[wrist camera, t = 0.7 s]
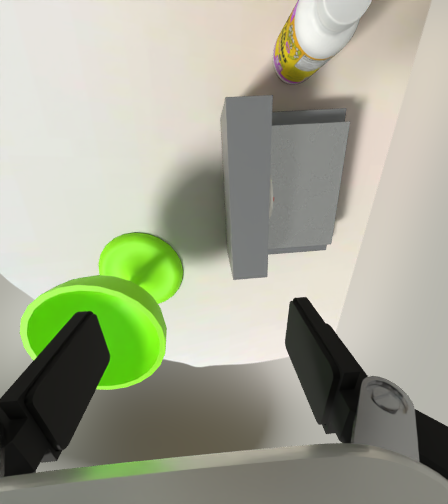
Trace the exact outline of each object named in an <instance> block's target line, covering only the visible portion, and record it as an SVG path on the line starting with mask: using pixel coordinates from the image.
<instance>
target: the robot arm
mask: <svg viewBox="0 0 448 504" xmlns="http://www.w3.org/2000/svg"><path fill="white" fill-rule="evenodd" d="M285 345H286V349H287V352H288V354H289V356H290V359H291V361H292V364H293V366H294V368H295V371H296V373H297V375H298V378H299V380H300V383H301V385H302V388H303V390H304V392H305V395H306V397H307V400H308V402H309V404H310V407H311V409H312V412H313V414H314V416H315V419H316V421H317V423H318V424H322V425H323V428H324V430H325V433H326V434H331V433H336V435H337V437H338V439H339V440H340V441H341V442H342V443H340V444H338V443H336V444H315V445H302V446H289V447H277V448H267V449H257V450H246V451H237V452H225V453H216V454H205V455H195V456H186V457H176V458H166V459H156V460H148V461H137V462H128V463H118V464H109V465H99V466H91V467H81V468H72V469H62V470H54V471H46V472H38V473H36V469H37V467H38V465H39V464H40V462H51V461H57V459H58V457H59V455H60V454H61V452H62V450H64V449H65V448H66V447H67V446H68V444H69V443H70V441H71V439H72V437H73V435H74V432H75V431H76V428H77V426H78V424H79V422H80V420H81V418H82V416H83V414H84V412H85V410H86V408H87V406H88V404H89V402H90V400H91V398H92V396H93V394H94V392H95V390H96V388H97V386H98V384H99V382H100V380H101V378H102V376H103V374H104V372H105V370H106V368H107V366H108V364H109V361H110V353H109V350H108V347H107V344H106V341H105V338H104V335H103V332H102V329H101V327H100V324H99V321H98V318H97V315H96V314H93V312H92V311H84V312H76V313H75V314H74V315H73V316H72V318H71V319H70V320H69V321H68V322H67V323H66V324H65V325H64V327H63V328H62V329H61V330H60V331H59V332H58V333H57V335H56V336H55V337H54V338H53V339H52V340H51V341H50V343H49V344H48V345H47V346H46V347H45V348H44V349H43V351H42V352H41V353H40V354H39V355H38V356H37V357H36V359H35V360H34V361H33V362H32V363H31V364H30V365H29V367H28V368H27V369H26V370H25V371H24V372H23V373H22V375H21V376H20V377H19V378H18V379H17V380H16V381H15V383H14V384H13V385H12V386H11V387H10V388H9V389H8V391H7V392H6V393H5V394H4V395H3V396H2V397H1V399H0V504H448V427H447V426H445V425H444V424H442V423H440V422H438V421H436V420H434V419H432V418H430V417H429V416H427V415H425V414H423V413H421V412H419V411H418V410H416V409H414V406H413V403H412V401H411V400H410V398H409V396H408V395H407V394H406V393H405V392H404V391H403V390H402V389H401V388H400V387H398V386H397V385H396V384H394V383H392V382H391V381H389V380H387V379H384V378H381V377H376V376H371V377H368V376H367V375H366V373H365V372H364V371H363V369H362V368H361V366H360V365H359V364H358V363H357V361H356V360H355V358H354V357H353V356H352V354H351V353H350V352H349V350H348V349H347V348H346V346H345V345H344V344H343V342H342V341H341V340H340V338H339V337H338V336H337V334H336V333H335V331H334V330H333V329H332V327H331V326H330V325H329V324H326V323H325V322H324V321H323V319H322V318H321V316H320V315H319V314H318V312H317V311H316V309H315V308H314V307H313V305H312V304H311V303H310V301H309V300H308V299H307V298H306V297H301V298H294V299H293V301H290V305H289V314H288V322H287V330H286V338H285Z"/></svg>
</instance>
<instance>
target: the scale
mask: <svg viewBox="0 0 448 504" xmlns="http://www.w3.org/2000/svg"><path fill="white" fill-rule="evenodd" d="M272 101H273V95H264V96H242V97H226V98H225V102H224V106H223V110H222V114H221V118H220V121H221V140H222V159H223V179H224V198H225V217H226V236H227V252H228V257H229V262H230V266H231V271H232V276H233V280H237V279H249V278H262V277H267V270H268V254H280V253H293V252H306V251H319V250H326V246H327V245H314V246H300V247H287V248H274V249H268V236H269V219H270V217H271V213H272V208H273V201H274V197H273V185H272V179H271V175H270V169H271V135H272V126H276V125H296V124H315V123H334V122H345V115H346V108H341V109H321V110H301V111H281V112H272Z"/></svg>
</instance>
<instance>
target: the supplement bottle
mask: <svg viewBox="0 0 448 504" xmlns="http://www.w3.org/2000/svg"><path fill="white" fill-rule="evenodd" d="M371 1H372V0H298V2H297V4H296V5H295V7H294V9H293V11H292V13H291V14H290V16H289V18H288V20H287V22H286V24H285V25H284V27H283V29H282V31H281V33H280V34H279V36H278V38H277V41H276V43H275V46H274V50H273V64H274V68H275V71H276V73H277V75H278V76H279V78H280V79H281V80H282V81H284V82H286V83H288V84H298V83H301V82H303V81H305V80H306V79H308V78H309V77H310V76H311V75H312V74H314V73H315V72H316V71H317V70H318V69H319V68H320V67H322V66H323V65H324V64H325V63H326V62H327V61H329V60H330V59H331V58H332V57H333V56H334V55H335V54H337V53H338V52H339V51H340V50H341V49H342V48H343V47H344V46H345V45H346V44H347V43H348V42H349V40H350V39H351V38H352V36H353V34H354V32H355V30H356V28H357V26H358V23H359V20H360V18H361V17H362V15H363V14H364V13H365V12H366V10H367V9H368V7H369V5H370V3H371Z"/></svg>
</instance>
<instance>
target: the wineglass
mask: <svg viewBox="0 0 448 504" xmlns="http://www.w3.org/2000/svg"><path fill="white" fill-rule="evenodd" d="M99 273H100V275H97V276H90V277H83V278H78V279H73V280H70V281H67V282H65V283H63V284H60V285H58V286H56V287H54V288H52V289H50V290H49V291H47V292H45V293H43V294H42V295H40V296H39V297H38V298H37V299H35V300H34V301H33V302H32V303H31V304H30V305H29V306H28V307H27V309H26V311H25V312H24V314H23V316H22V318H21V325H20V335H21V338H22V342H23V345H24V348H25V349H26V351H27V352H28V354H29V355H30V357H31V358H32V360H33V361H34V360H35V359H36V357H37V356H38V355H39V354H40V353H41V352H42V351H43V349H44V348H45V347H46V346H47V345H48V344H49V343H50V341H51V340H52V339H53V338H54V337H55V336H56V335H57V333H58V332H59V331H60V330H61V329H62V328H63V327H64V325H65V324H66V323H67V322H68V321H69V320H70V319H71V318H72V316H73V315H74V314H75V313H76V312H84V311H92V312H93V314H96V315H97V318H98V321H99V324H100V327H101V329H102V332H103V335H104V338H105V341H106V344H107V347H108V350H109V353H110V361H109V364H108V366H107V368H106V370H105V372H104V374H103V376H102V378H101V380H100V382H99V384H98V386H97V388H96V389H105V390H106V389H107V390H111V389H118V388H123V387H128V386H131V385H134V384H137V383H139V382H141V381H143V380H144V379H146V378H147V377H149V376H151V375H152V374H153V373H154V372H155V370H156V369H157V368H158V367H159V366H160V365H161V362H162V360H163V357H164V355H165V348H166V330H167V328H166V325H165V321H164V318H163V315H162V312H161V309H160V307H159V305H158V304H159V303H162V302H164V301H166V300H168V299H169V298H170V297H172V296H173V295H174V294H175V293H176V291H177V290H178V289H179V287H180V285H181V282H182V278H183V268H182V264H181V260H180V259H179V257H178V255H177V253H176V252H175V251H174V250H173V249H172V247H171V246H170V245H169V244H167V243H166V242H164V241H163V240H161V239H160V238H158V237H155V236H152V235H149V234H144V233H129V234H123V235H121V236H119V237H116V238H114V239H113V240H112V241H110V242H109V243H108V244H107V245H106V246H105V248H104V249H103V251H102V253H101V255H100V260H99Z"/></svg>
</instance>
